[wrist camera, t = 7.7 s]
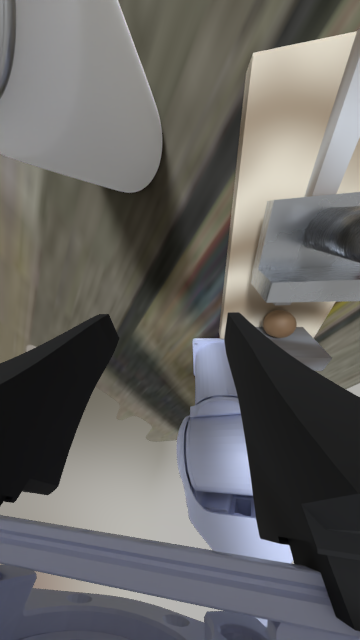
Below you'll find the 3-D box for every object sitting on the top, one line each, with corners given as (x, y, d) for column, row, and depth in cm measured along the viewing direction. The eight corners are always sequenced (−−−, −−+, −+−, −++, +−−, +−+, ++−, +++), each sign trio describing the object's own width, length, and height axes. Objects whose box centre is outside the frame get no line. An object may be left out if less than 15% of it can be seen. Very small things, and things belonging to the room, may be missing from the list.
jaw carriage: (340, 279, 14) (446, 326, 8) (250, 282, 15) (285, 327, 9) (391, 189, 10) (659, 155, 4) (267, 201, 11) (346, 186, 5)
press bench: (305, 332, 21) (342, 372, 16) (218, 332, 22) (225, 368, 17) (471, 29, 8) (971, -305, 3) (245, 73, 10) (306, -98, 4)
